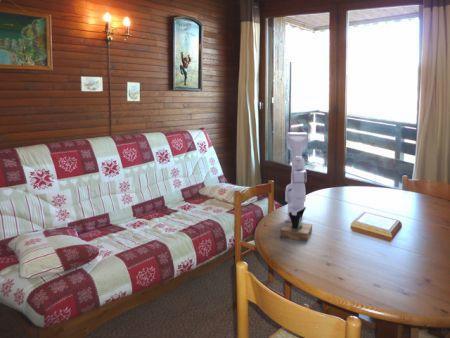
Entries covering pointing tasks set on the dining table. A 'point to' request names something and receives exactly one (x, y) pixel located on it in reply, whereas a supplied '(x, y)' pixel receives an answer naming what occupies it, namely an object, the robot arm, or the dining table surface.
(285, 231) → the socket block
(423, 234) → the dining table surface
